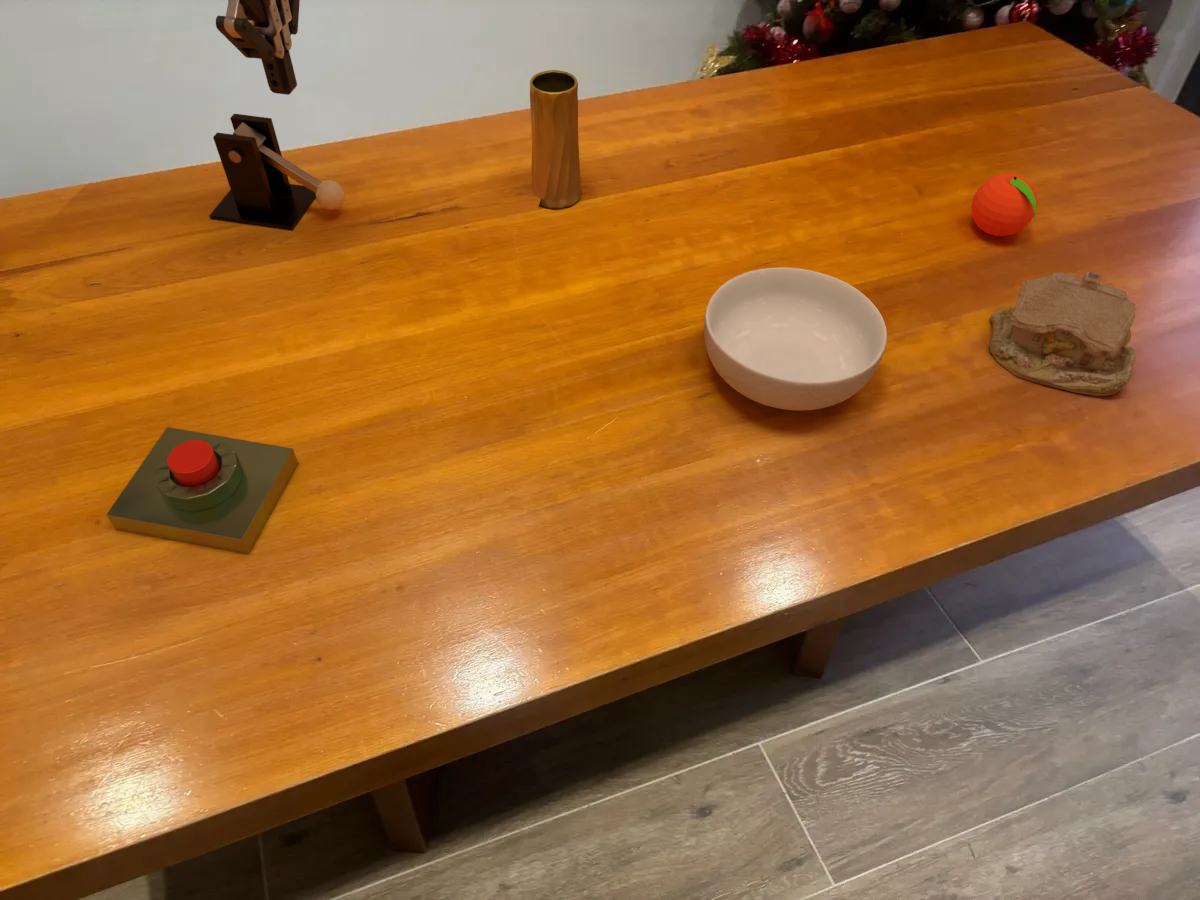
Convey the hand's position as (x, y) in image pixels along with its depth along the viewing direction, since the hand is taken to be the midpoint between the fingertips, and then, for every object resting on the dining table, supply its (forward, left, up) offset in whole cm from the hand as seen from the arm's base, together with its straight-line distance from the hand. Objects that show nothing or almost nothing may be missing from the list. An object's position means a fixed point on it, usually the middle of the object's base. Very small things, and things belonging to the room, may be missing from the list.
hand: (284, 90), depth 87 cm
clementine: (+75, +20, -19) cm, 80 cm away
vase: (+23, +16, -19) cm, 34 cm away
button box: (+4, -35, -18) cm, 40 cm away
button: (+4, -35, -15) cm, 39 cm away
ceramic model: (+79, 0, -19) cm, 81 cm away
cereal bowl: (+52, -9, -19) cm, 56 cm away
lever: (-5, +5, -14) cm, 15 cm away
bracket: (-9, +5, -18) cm, 21 cm away
